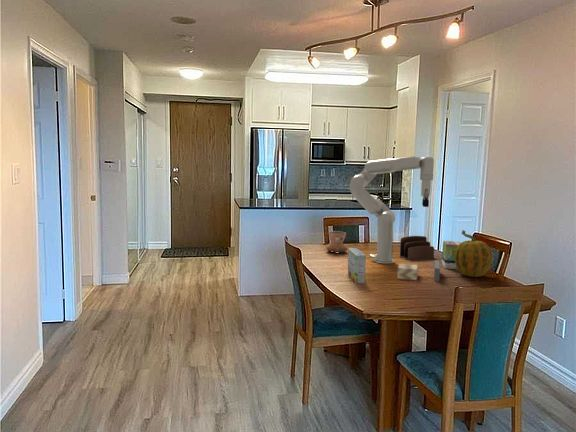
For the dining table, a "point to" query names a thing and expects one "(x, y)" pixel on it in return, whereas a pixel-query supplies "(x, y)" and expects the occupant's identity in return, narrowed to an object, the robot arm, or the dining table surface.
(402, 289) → the dining table surface
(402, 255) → the letter holder
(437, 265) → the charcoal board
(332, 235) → the brown piece
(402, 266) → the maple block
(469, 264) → the pumpkin
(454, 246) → the tea box
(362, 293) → the dining table surface
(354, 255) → the snack box
